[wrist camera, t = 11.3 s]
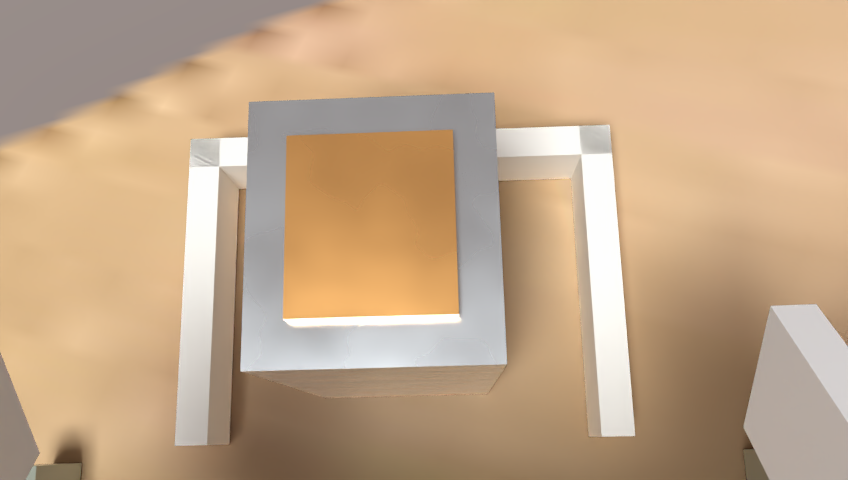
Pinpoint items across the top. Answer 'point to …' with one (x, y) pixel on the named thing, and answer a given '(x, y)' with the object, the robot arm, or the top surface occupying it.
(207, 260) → the dock
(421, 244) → the block
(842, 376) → the robot arm
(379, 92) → the top surface
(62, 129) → the top surface
